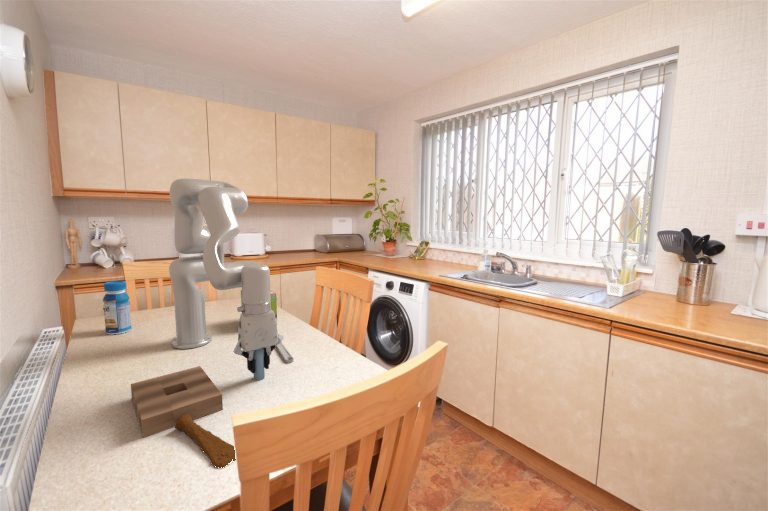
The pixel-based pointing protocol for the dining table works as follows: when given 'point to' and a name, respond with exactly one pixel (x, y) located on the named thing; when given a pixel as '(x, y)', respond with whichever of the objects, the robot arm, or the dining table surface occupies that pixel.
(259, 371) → the peg
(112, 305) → the blue-capped supplement jar
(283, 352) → the adjustable wrench
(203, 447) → the primitive tool
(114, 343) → the dining table surface
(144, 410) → the hole block
